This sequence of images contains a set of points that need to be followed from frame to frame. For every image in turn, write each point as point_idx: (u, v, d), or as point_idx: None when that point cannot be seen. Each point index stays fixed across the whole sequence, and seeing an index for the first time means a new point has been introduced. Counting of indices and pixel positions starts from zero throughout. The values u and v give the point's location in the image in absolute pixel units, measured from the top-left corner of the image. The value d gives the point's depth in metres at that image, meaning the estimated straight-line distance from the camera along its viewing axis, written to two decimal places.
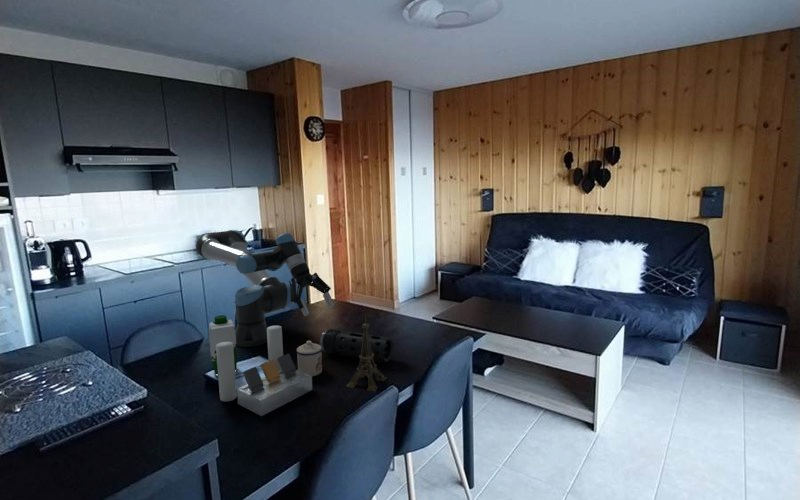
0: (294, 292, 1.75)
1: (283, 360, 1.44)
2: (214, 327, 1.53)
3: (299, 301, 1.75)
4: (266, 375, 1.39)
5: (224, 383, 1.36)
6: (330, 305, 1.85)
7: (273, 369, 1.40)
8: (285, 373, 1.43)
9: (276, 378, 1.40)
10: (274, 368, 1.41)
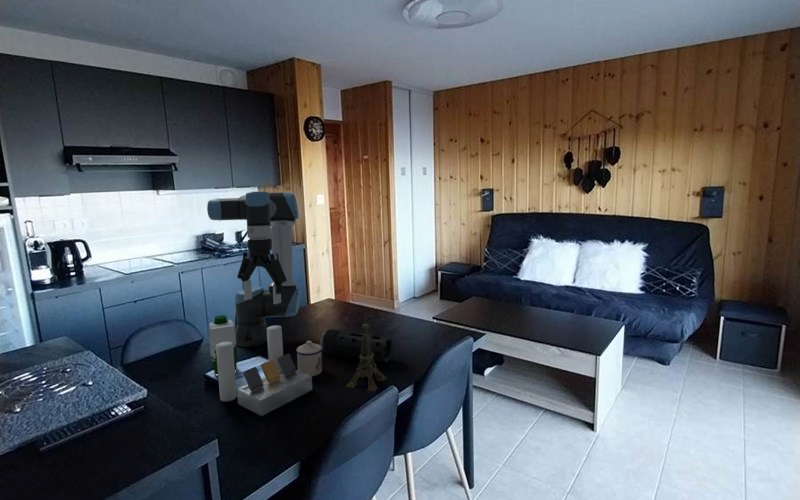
0: (240, 270, 1.48)
1: (283, 360, 1.44)
2: (214, 327, 1.53)
3: (243, 282, 1.49)
4: (266, 375, 1.39)
5: (224, 383, 1.36)
6: None
7: (273, 369, 1.40)
8: (285, 373, 1.43)
9: (276, 378, 1.40)
10: (274, 368, 1.41)
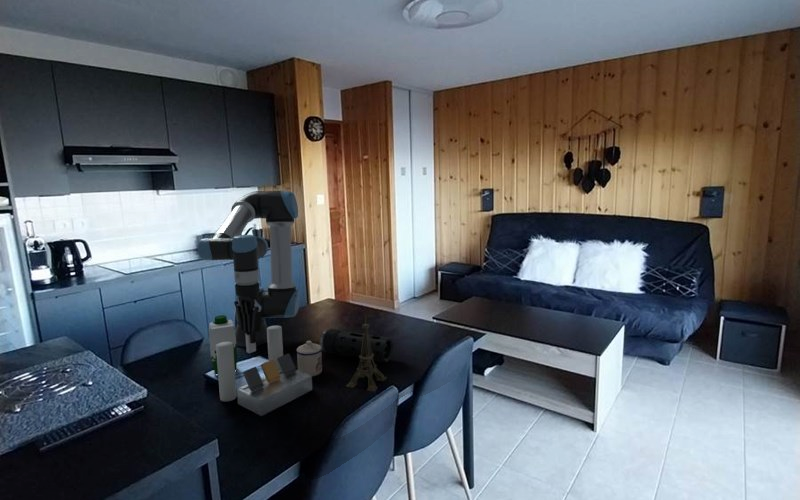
0: (239, 320, 1.45)
1: (283, 360, 1.44)
2: (214, 327, 1.53)
3: (245, 333, 1.44)
4: (266, 375, 1.39)
5: (224, 383, 1.36)
6: None
7: (273, 369, 1.40)
8: (285, 373, 1.43)
9: (276, 378, 1.40)
10: (274, 368, 1.41)
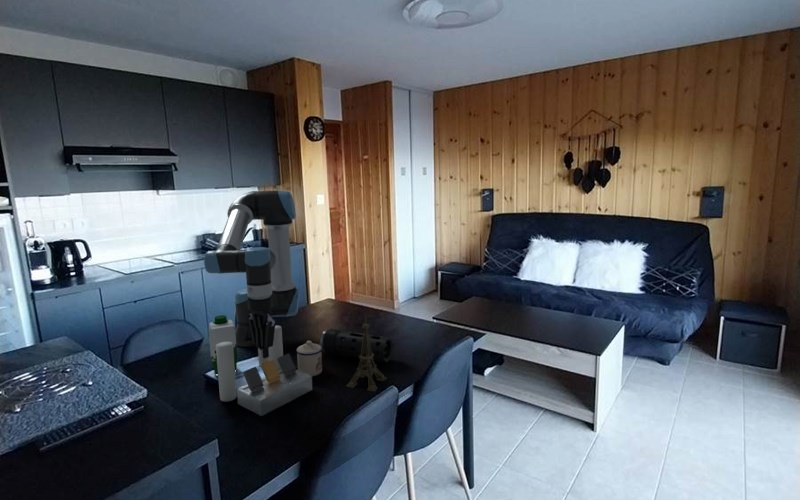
0: (252, 334, 1.42)
1: (283, 360, 1.44)
2: (214, 327, 1.53)
3: (258, 348, 1.41)
4: (266, 375, 1.39)
5: (224, 383, 1.36)
6: None
7: (273, 369, 1.40)
8: (285, 373, 1.43)
9: (276, 378, 1.40)
10: (274, 368, 1.41)
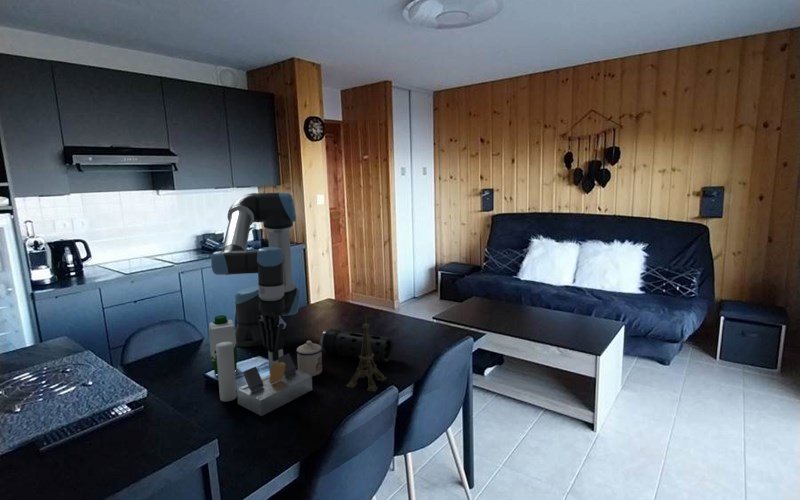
0: (262, 337, 1.38)
1: (283, 360, 1.44)
2: (214, 327, 1.53)
3: (268, 350, 1.37)
4: (272, 376, 1.37)
5: (224, 383, 1.36)
6: None
7: (280, 373, 1.38)
8: (285, 373, 1.43)
9: (278, 380, 1.39)
10: (282, 372, 1.39)
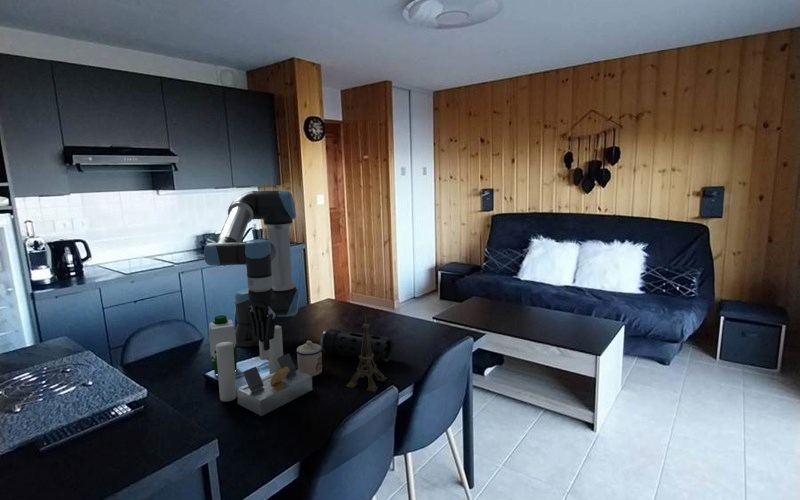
0: (252, 327, 1.41)
1: (283, 360, 1.44)
2: (214, 327, 1.53)
3: None
4: (274, 379, 1.36)
5: (224, 383, 1.36)
6: None
7: (283, 376, 1.38)
8: None
9: (278, 381, 1.39)
10: (284, 376, 1.38)
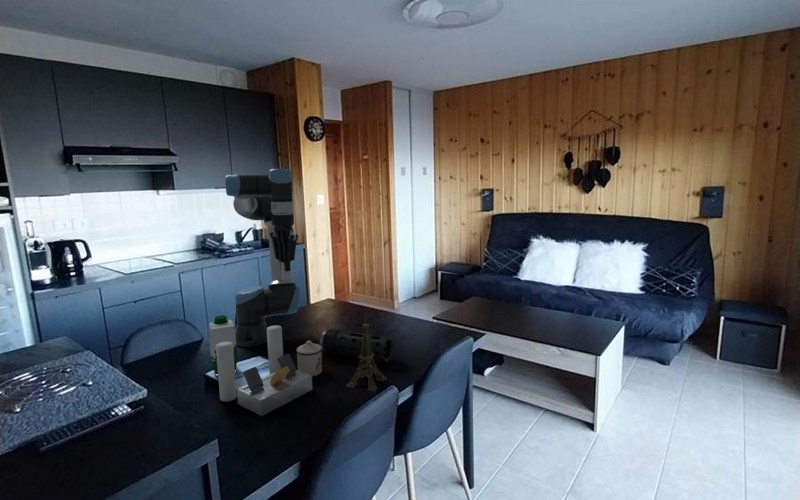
0: (274, 250, 1.55)
1: (283, 360, 1.44)
2: (214, 327, 1.53)
3: (280, 262, 1.54)
4: (274, 379, 1.36)
5: (224, 383, 1.36)
6: None
7: (283, 377, 1.38)
8: None
9: (278, 381, 1.39)
10: (284, 376, 1.38)
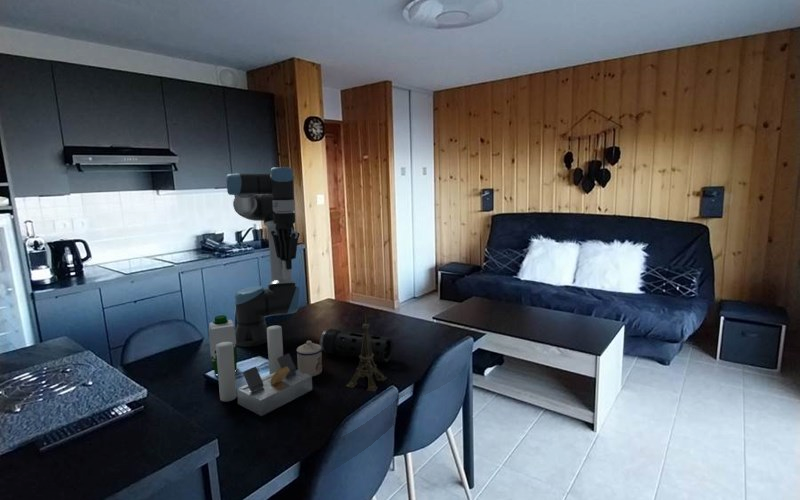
0: (276, 249, 1.55)
1: (283, 360, 1.44)
2: (214, 327, 1.53)
3: None
4: (274, 379, 1.36)
5: (224, 383, 1.36)
6: None
7: (283, 377, 1.38)
8: None
9: (278, 381, 1.39)
10: (284, 376, 1.38)
